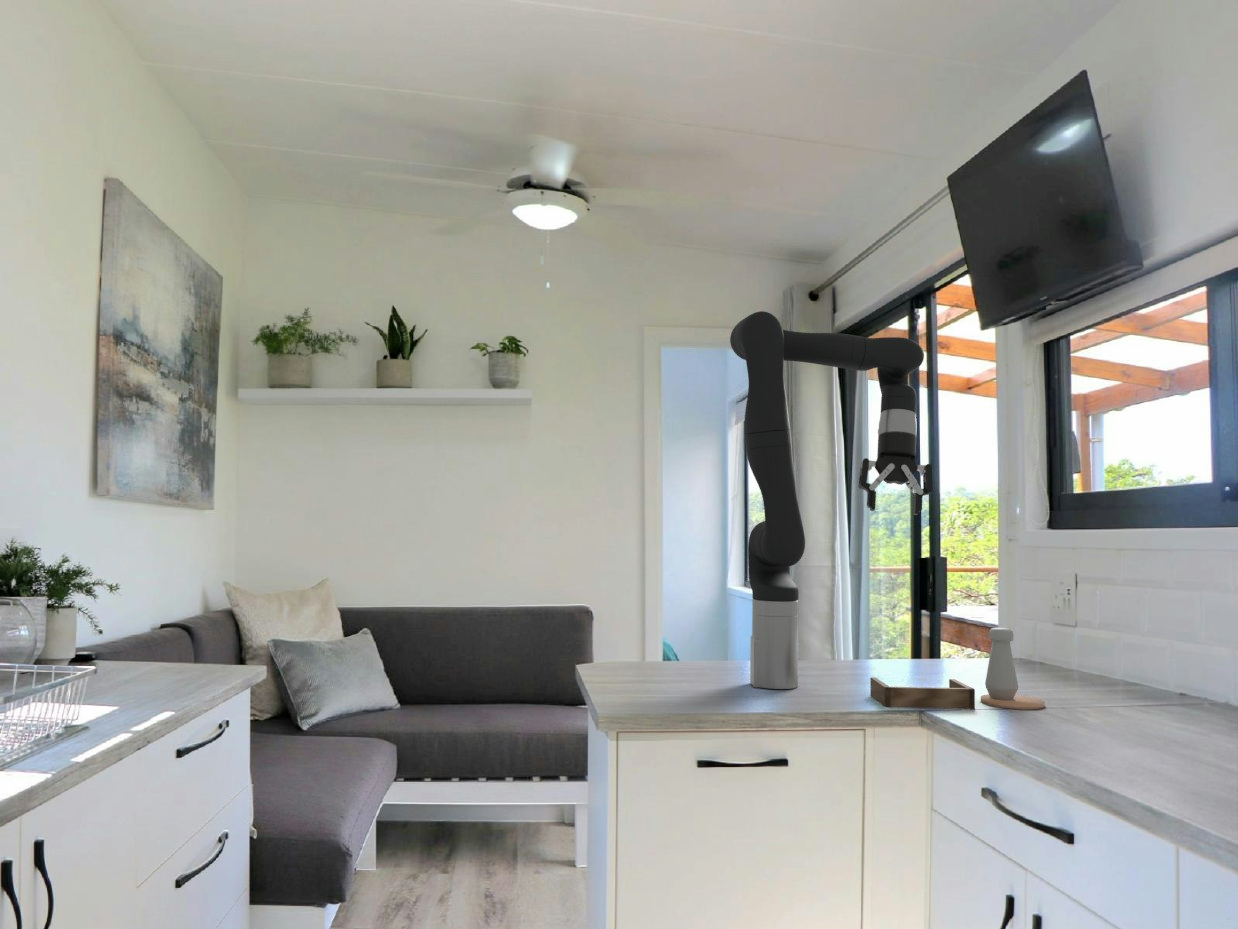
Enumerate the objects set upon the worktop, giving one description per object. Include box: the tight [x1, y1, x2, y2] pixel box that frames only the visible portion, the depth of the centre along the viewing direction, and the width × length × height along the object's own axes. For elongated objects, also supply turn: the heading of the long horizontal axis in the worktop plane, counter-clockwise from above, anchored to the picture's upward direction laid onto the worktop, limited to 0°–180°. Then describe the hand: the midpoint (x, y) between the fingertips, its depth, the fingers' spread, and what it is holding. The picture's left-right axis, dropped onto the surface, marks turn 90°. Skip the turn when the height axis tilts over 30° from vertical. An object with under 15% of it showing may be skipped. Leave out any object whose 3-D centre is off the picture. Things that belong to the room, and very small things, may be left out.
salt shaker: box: [984, 627, 1019, 700], centre depth 178 cm, size 6×6×13 cm
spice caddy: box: [869, 677, 976, 710], centre depth 177 cm, size 16×11×4 cm
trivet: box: [980, 693, 1046, 711], centre depth 177 cm, size 11×11×1 cm
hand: (894, 512), depth 191 cm, fingers open, 8 cm apart
